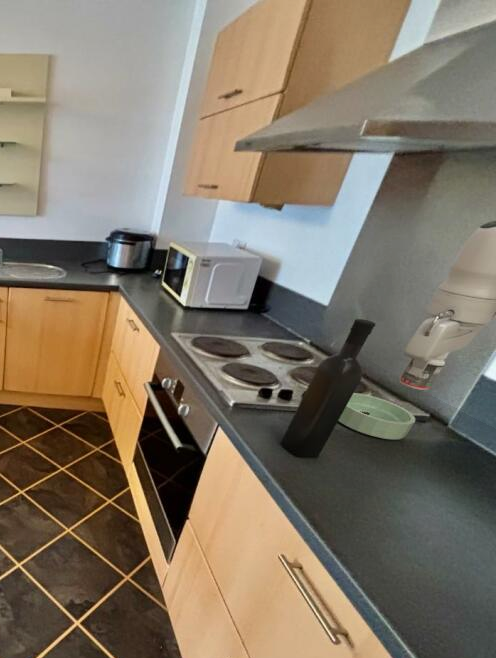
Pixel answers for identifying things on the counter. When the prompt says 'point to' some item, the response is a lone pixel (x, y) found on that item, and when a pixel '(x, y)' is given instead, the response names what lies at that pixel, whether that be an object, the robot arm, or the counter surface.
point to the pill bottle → (427, 377)
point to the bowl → (377, 417)
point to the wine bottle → (327, 395)
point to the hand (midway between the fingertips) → (421, 372)
